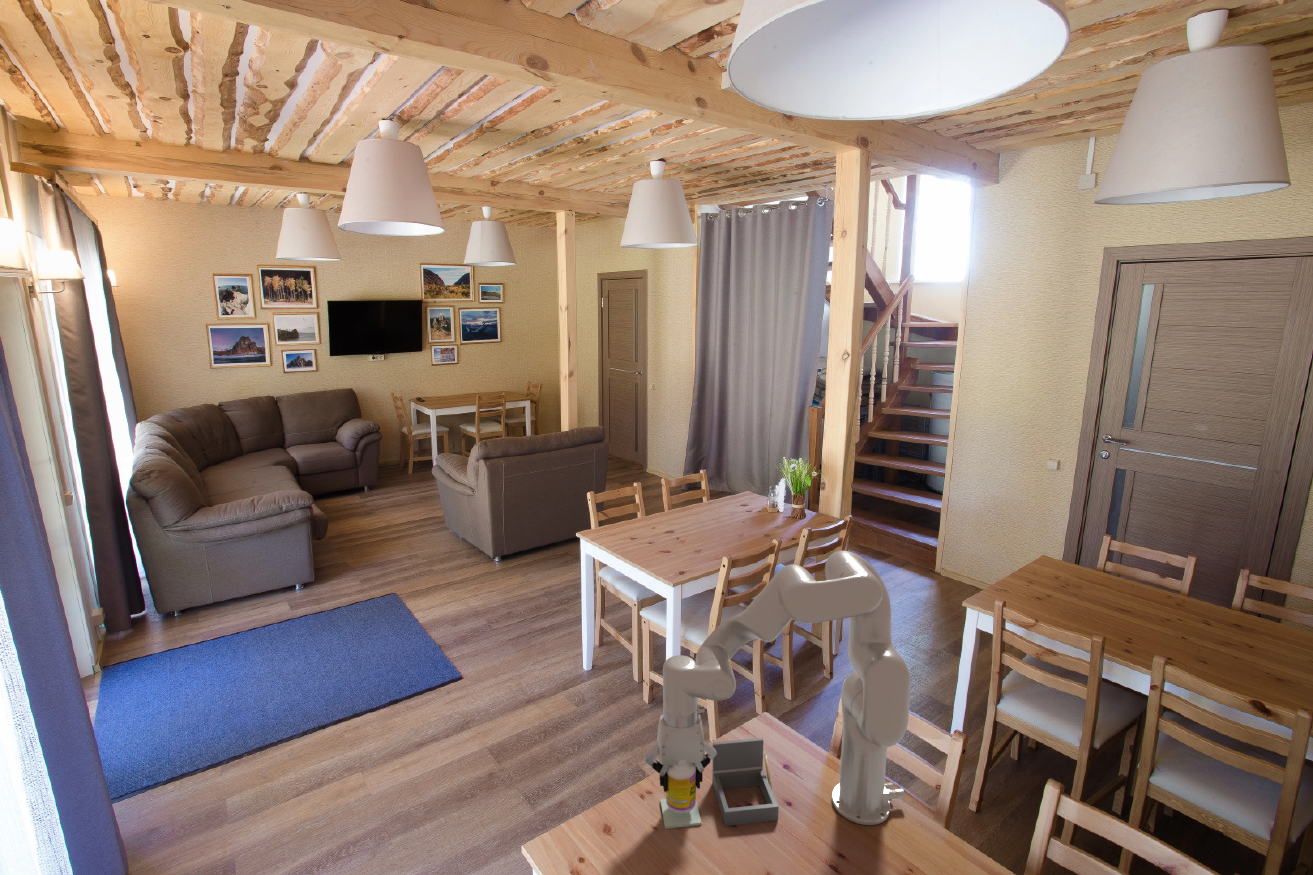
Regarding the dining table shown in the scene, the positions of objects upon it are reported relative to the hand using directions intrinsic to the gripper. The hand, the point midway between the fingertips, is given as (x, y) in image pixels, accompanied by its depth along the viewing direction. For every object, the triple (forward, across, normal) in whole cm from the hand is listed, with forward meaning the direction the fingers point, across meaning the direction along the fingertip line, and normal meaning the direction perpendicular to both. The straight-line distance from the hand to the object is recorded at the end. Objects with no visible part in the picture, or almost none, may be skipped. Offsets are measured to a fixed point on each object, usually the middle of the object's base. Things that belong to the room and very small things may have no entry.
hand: (681, 785), depth 141 cm
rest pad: (+7, 0, 0) cm, 7 cm away
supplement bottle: (+5, 0, 0) cm, 5 cm away
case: (+7, -15, -1) cm, 16 cm away
